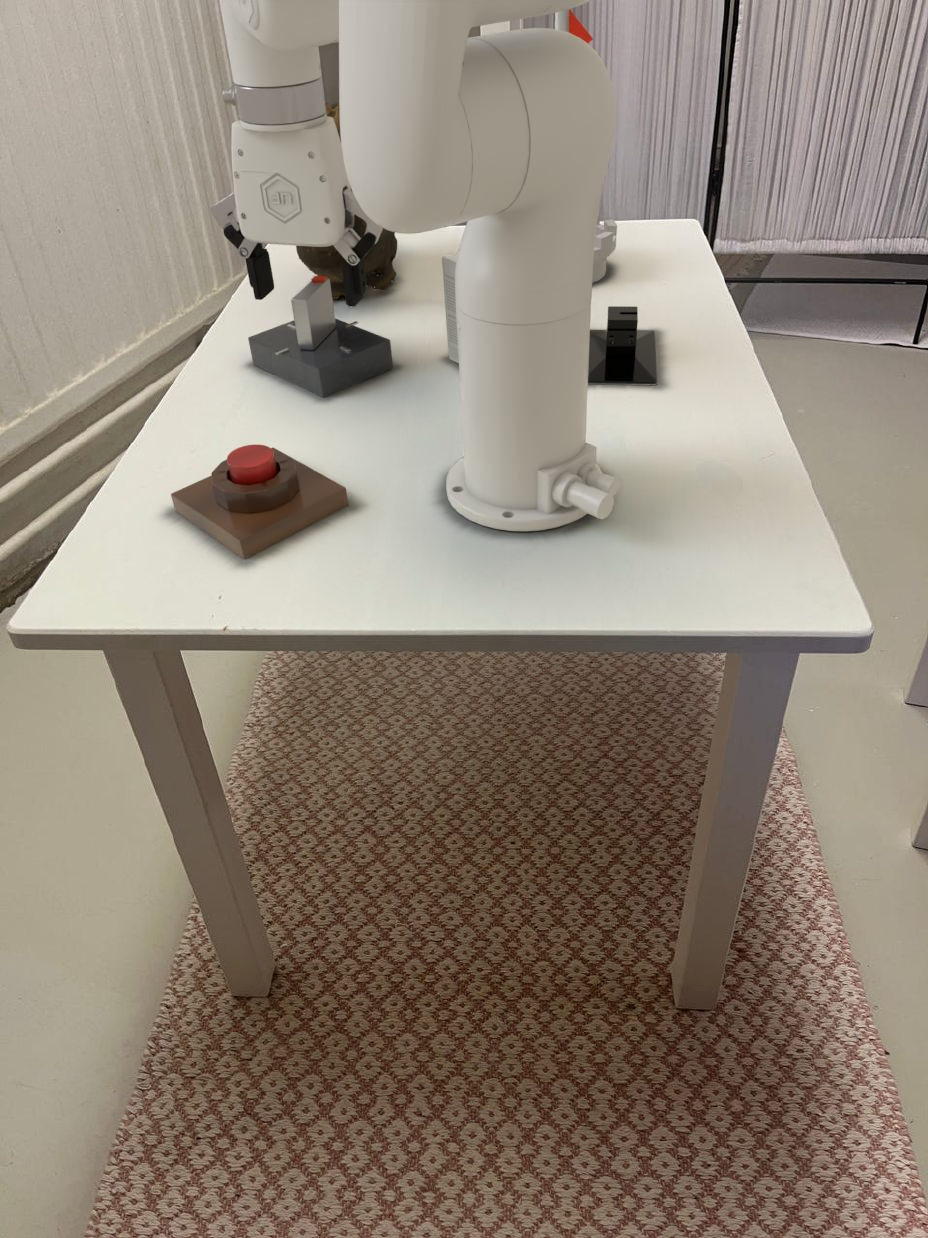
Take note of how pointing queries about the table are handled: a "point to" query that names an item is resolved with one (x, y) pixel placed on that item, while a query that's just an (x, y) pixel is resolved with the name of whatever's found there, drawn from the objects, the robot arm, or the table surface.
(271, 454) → the button
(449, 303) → the small box
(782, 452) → the table surface
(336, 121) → the pottery vessel
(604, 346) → the black stand
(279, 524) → the button block
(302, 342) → the grey rectangular block
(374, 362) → the dial switch base
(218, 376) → the table surface
